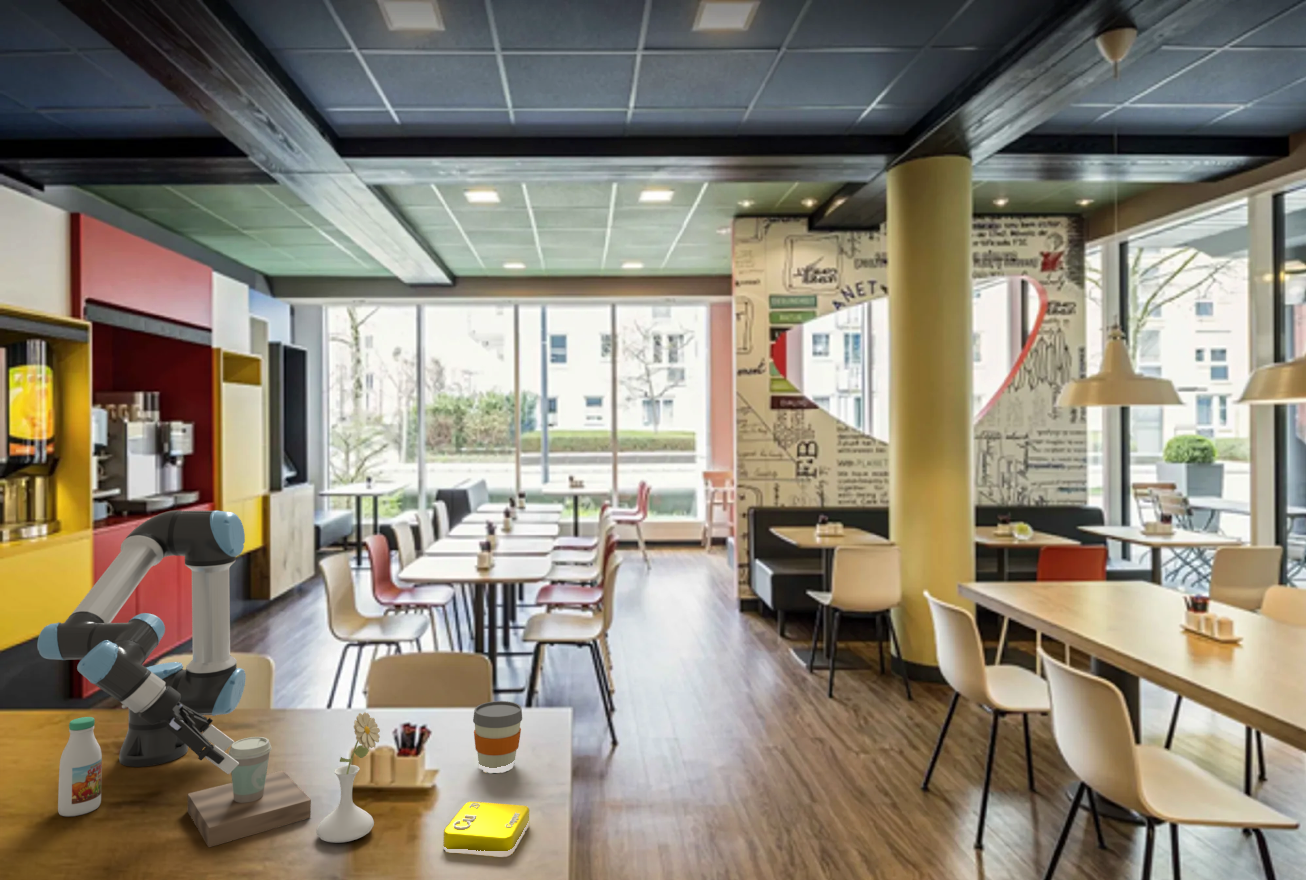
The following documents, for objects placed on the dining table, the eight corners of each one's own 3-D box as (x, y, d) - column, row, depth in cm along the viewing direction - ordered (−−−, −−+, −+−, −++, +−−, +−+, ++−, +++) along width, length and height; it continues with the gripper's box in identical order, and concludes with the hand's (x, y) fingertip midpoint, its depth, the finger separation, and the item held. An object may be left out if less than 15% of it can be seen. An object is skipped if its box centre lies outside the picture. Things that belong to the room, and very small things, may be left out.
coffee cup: (251, 807, 167) (253, 752, 167) (217, 803, 169) (219, 748, 169) (278, 790, 176) (280, 737, 176) (246, 786, 177) (247, 734, 177)
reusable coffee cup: (461, 771, 198) (463, 712, 198) (489, 753, 209) (491, 698, 209) (503, 780, 193) (505, 720, 193) (530, 761, 205) (531, 704, 205)
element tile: (510, 860, 157) (511, 836, 157) (439, 853, 159) (440, 830, 159) (531, 824, 172) (531, 802, 172) (466, 819, 174) (466, 797, 174)
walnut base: (187, 811, 173) (187, 793, 173) (282, 786, 187) (282, 770, 187) (208, 847, 158) (209, 827, 158) (310, 817, 172) (310, 799, 172)
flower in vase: (338, 854, 157) (342, 730, 157) (304, 838, 163) (307, 719, 163) (391, 828, 168) (394, 712, 168) (357, 813, 174) (360, 702, 174)
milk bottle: (54, 820, 168) (56, 727, 168) (62, 805, 175) (64, 716, 175) (97, 813, 172) (100, 722, 172) (103, 798, 178) (105, 711, 179)
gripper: (138, 696, 171) (213, 751, 179) (134, 733, 150) (220, 794, 158) (167, 669, 174) (240, 724, 182) (168, 702, 153) (250, 763, 161)
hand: (231, 757), depth 170 cm, fingers open, 13 cm apart
